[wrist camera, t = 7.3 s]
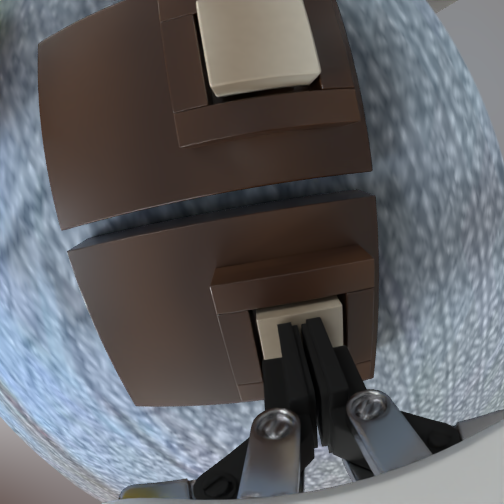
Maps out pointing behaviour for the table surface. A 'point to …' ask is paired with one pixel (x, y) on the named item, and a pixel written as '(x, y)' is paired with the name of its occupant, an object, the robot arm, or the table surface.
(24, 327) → the table surface
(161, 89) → the keys low
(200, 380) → the keys high
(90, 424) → the table surface
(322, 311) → the key
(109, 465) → the table surface
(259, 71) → the key
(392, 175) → the table surface
